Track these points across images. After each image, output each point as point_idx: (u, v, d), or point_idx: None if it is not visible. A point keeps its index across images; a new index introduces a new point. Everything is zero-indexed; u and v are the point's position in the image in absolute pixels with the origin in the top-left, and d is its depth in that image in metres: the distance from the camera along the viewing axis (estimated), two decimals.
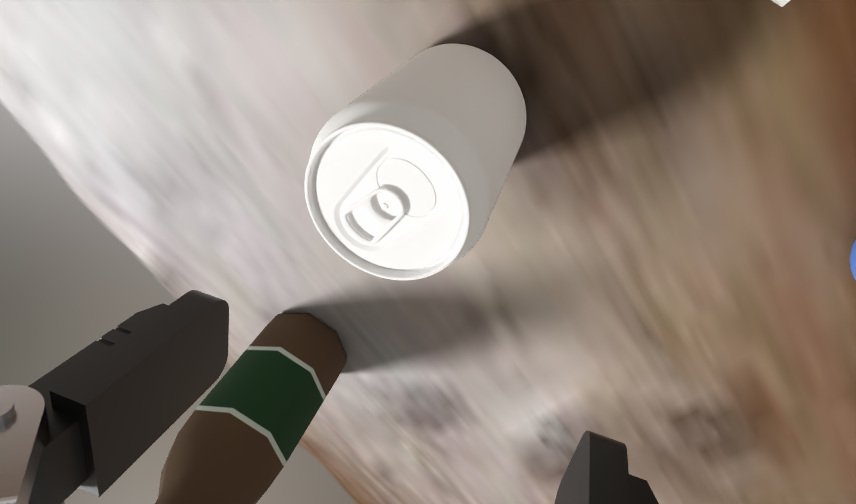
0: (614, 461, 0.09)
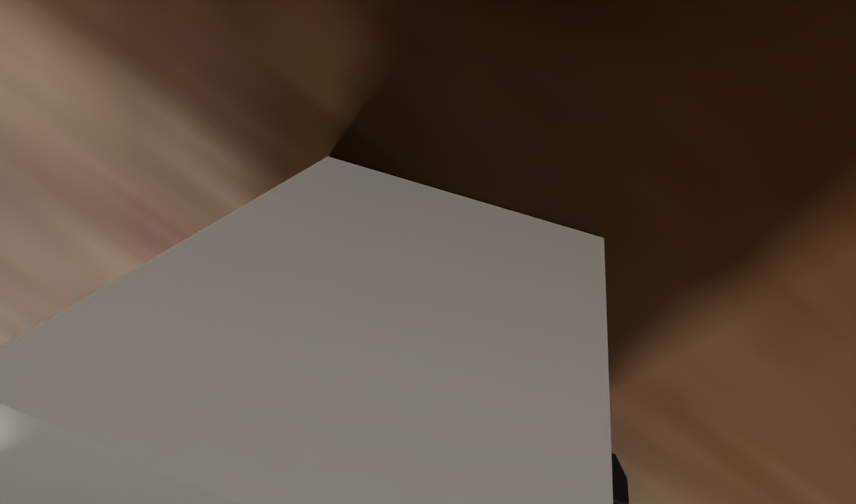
0: None
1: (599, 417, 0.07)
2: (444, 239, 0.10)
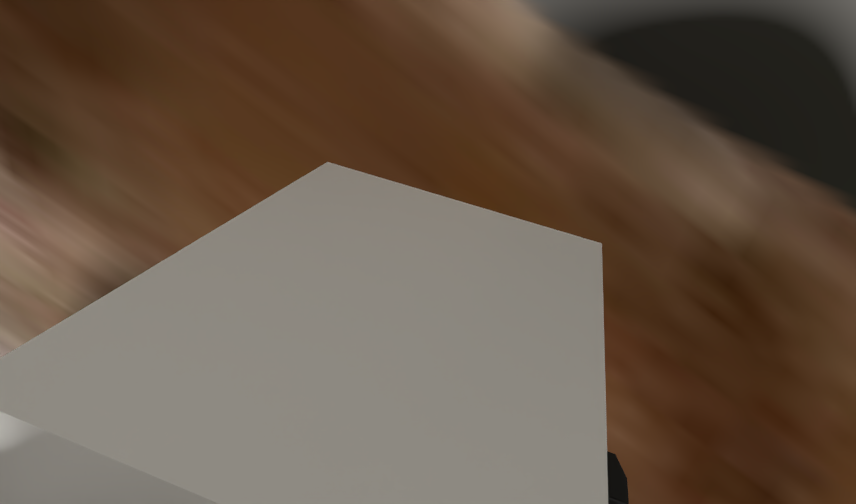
0: None
1: (595, 425, 0.07)
2: (443, 245, 0.10)
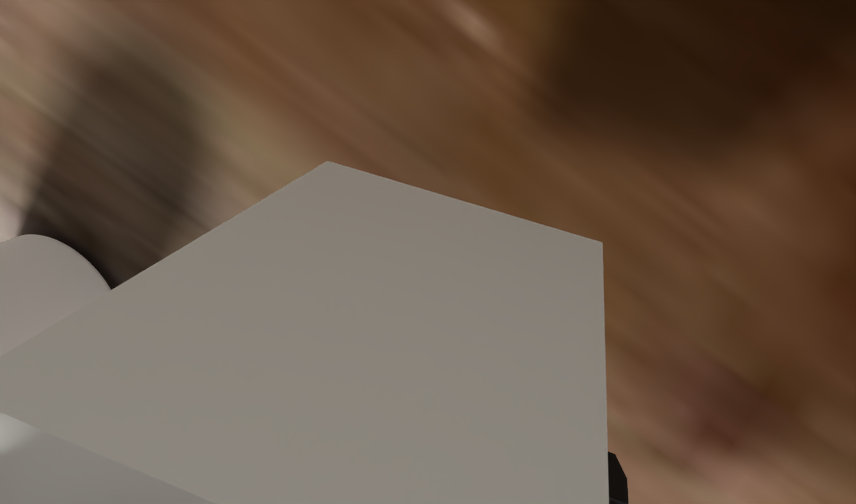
0: None
1: (596, 424, 0.07)
2: (443, 244, 0.10)
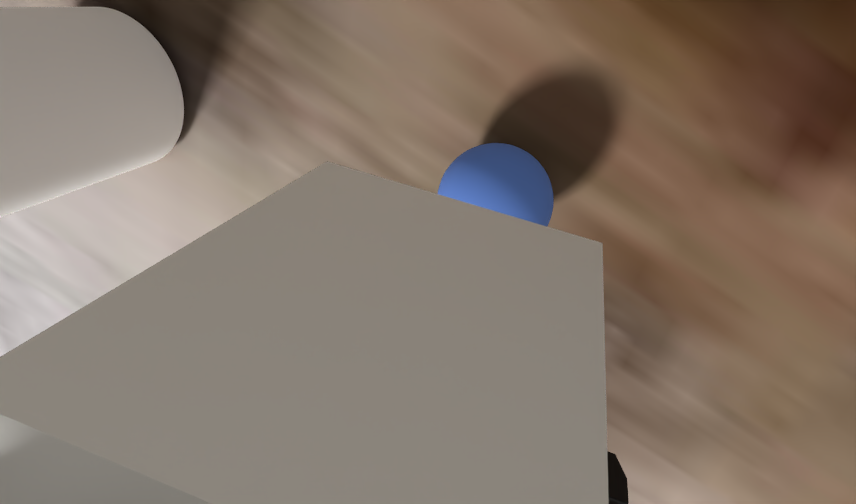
0: None
1: (596, 425, 0.07)
2: (442, 245, 0.10)
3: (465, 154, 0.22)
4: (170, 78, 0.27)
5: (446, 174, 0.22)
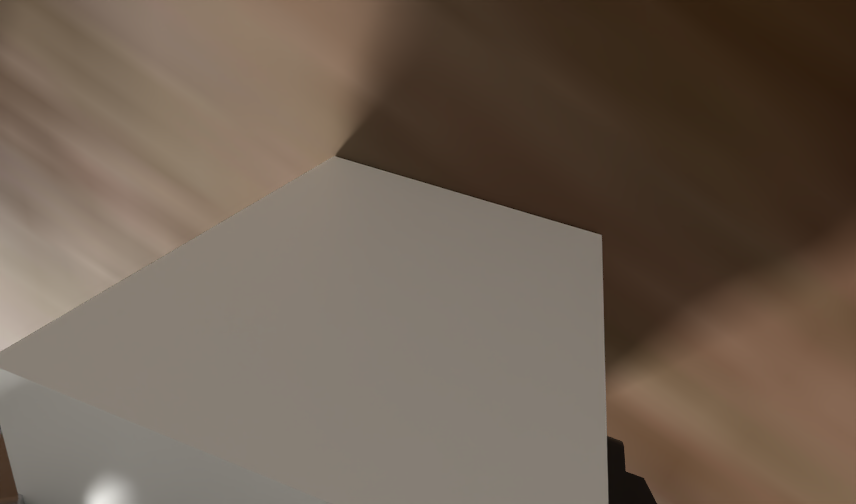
0: (611, 458, 0.09)
1: (595, 401, 0.07)
2: (448, 236, 0.11)
3: None
4: None
5: None
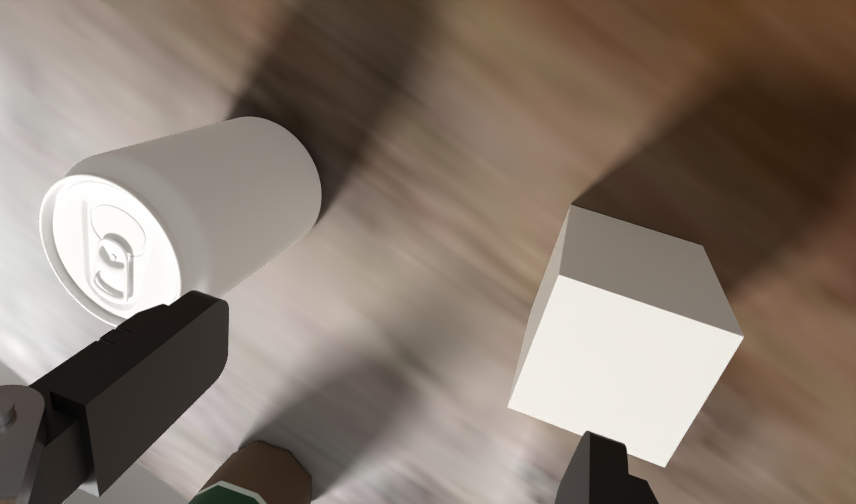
0: (614, 461, 0.09)
1: (724, 299, 0.21)
2: (643, 243, 0.25)
3: None
4: (315, 181, 0.30)
5: None
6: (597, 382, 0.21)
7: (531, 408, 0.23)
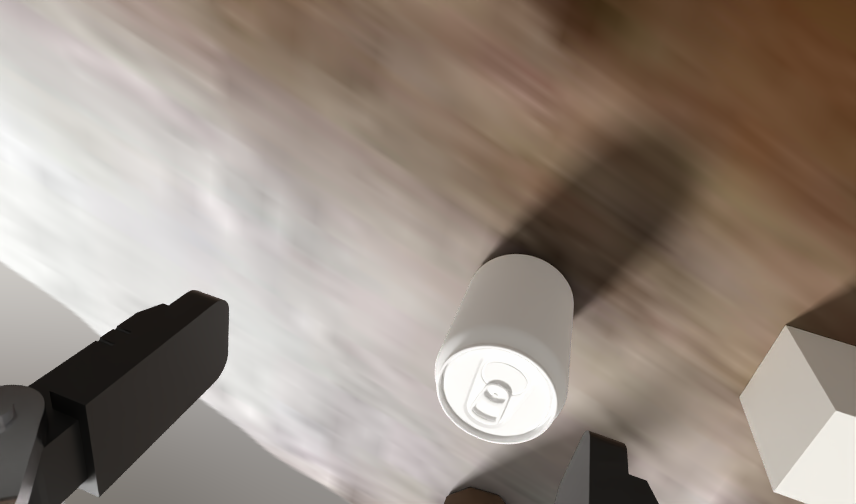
0: (614, 461, 0.09)
1: None
2: None
3: None
4: (573, 303, 0.39)
5: None
6: (851, 478, 0.30)
7: (793, 493, 0.32)
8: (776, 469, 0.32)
